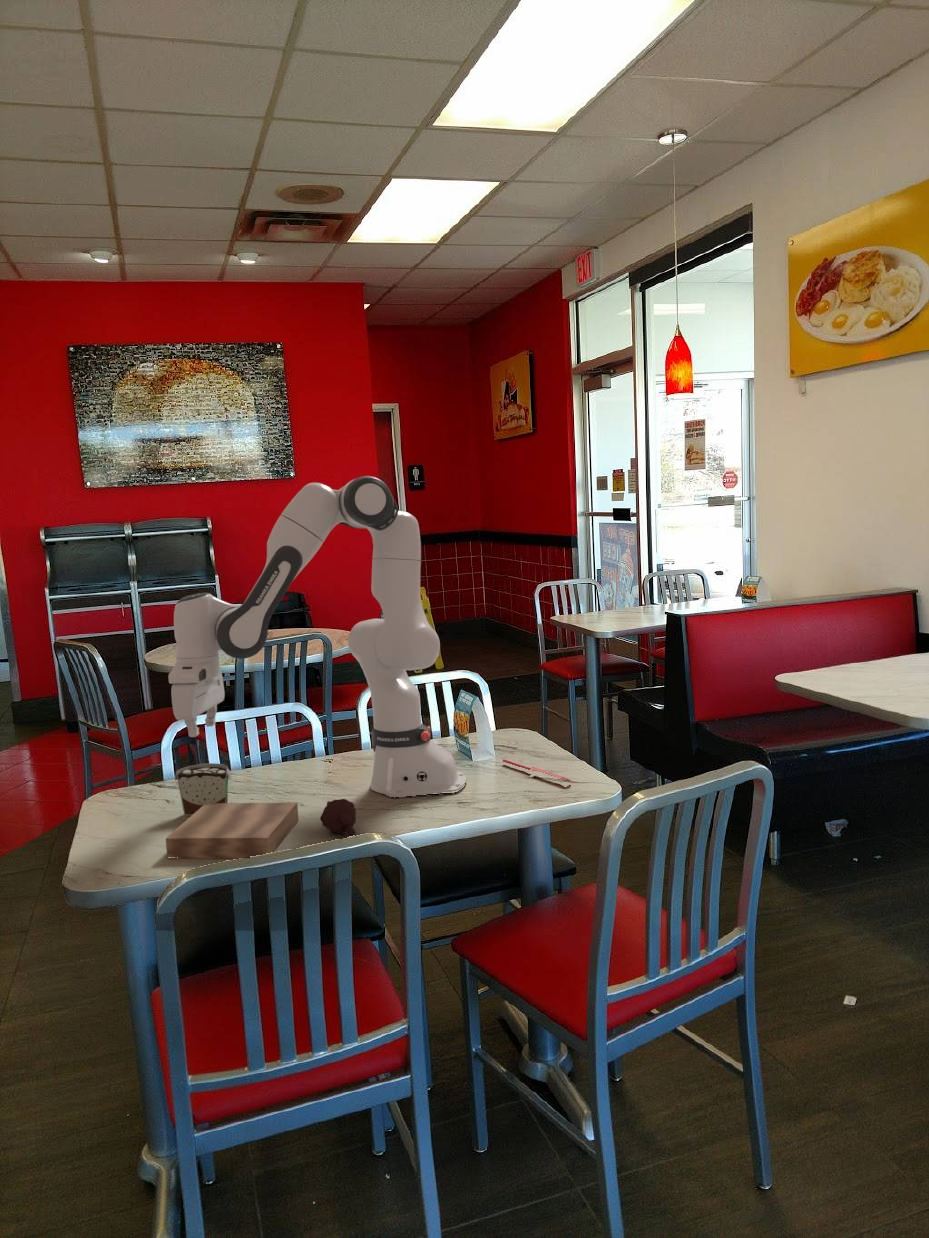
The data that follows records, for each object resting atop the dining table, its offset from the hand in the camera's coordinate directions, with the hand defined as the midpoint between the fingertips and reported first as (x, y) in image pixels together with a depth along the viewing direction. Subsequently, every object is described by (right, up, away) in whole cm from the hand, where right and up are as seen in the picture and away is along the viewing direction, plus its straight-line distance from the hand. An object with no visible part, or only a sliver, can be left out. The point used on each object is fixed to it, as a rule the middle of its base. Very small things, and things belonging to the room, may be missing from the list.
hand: (202, 730), depth 196 cm
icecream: (+32, -19, -14) cm, 40 cm away
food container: (+1, -18, +2) cm, 18 cm away
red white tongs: (+74, -13, +17) cm, 77 cm away
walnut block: (+11, -20, -16) cm, 28 cm away
